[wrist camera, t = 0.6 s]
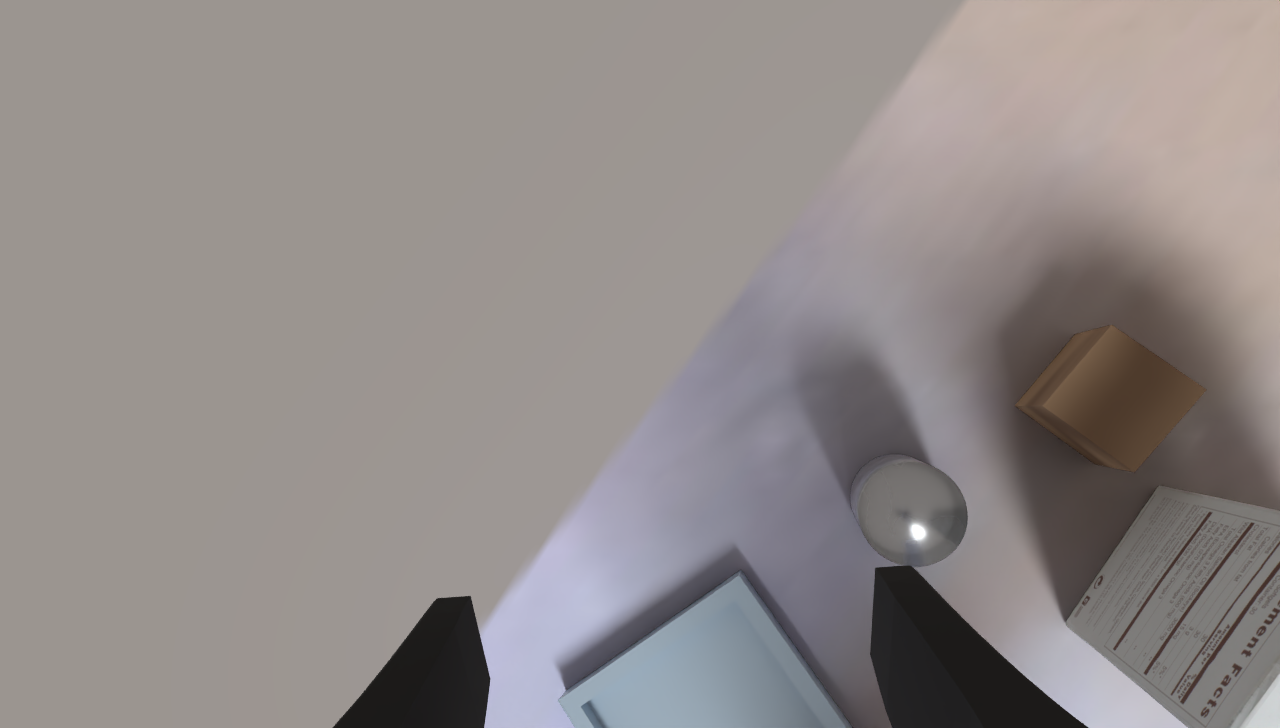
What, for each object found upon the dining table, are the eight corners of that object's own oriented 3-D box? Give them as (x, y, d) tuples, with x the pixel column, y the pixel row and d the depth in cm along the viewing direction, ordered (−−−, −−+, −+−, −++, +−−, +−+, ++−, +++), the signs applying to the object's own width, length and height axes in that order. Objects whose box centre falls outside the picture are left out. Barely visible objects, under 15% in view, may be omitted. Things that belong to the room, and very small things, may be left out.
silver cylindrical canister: (962, 510, 33) (990, 528, 28) (887, 560, 33) (901, 586, 29) (904, 436, 34) (922, 441, 29) (832, 487, 34) (837, 500, 29)
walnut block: (1156, 391, 32) (1206, 389, 28) (1093, 464, 32) (1134, 472, 28) (1074, 334, 32) (1111, 324, 29) (1013, 405, 33) (1042, 405, 29)
